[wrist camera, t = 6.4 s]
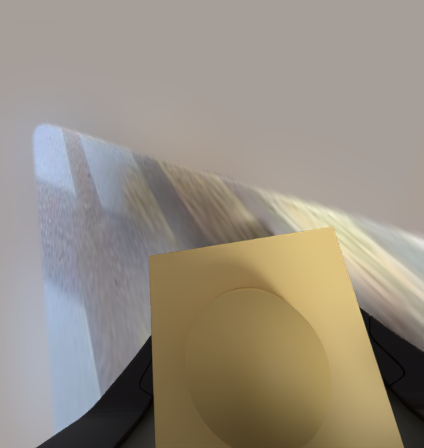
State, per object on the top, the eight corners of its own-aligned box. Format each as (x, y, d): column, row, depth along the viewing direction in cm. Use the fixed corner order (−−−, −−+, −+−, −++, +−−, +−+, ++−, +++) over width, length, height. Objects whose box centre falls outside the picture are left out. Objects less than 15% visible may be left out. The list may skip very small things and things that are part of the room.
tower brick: (282, 317, 14) (480, 574, 2) (225, 323, 15) (132, 546, 3) (270, 259, 16) (352, 216, 3) (218, 266, 16) (129, 253, 4)
